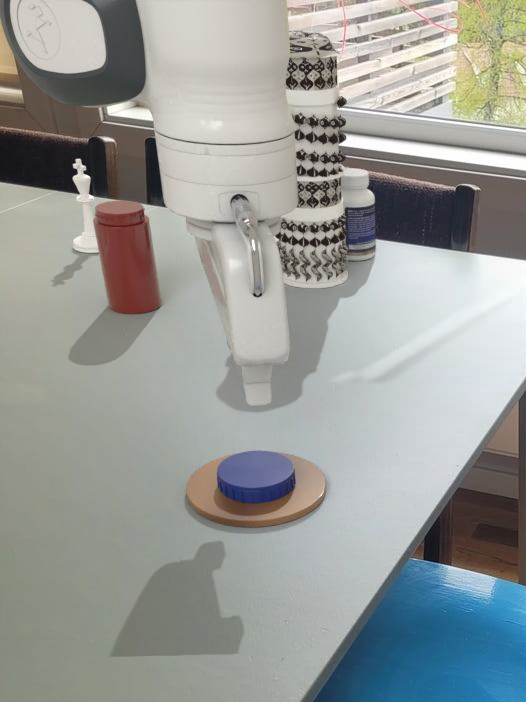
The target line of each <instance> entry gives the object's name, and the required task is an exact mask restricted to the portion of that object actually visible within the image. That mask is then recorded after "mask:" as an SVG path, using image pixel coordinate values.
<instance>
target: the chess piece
mask: <svg viewBox="0 0 526 702" xmlns="http://www.w3.org/2000/svg"><path fill="white" fill-rule="evenodd" d="M72 168H73V169H75V170H77V174H75V175H73V176H72V181H73V183H74V185H75V186H76V189H77V191H78V192H79V195H77V196H76V198H75V201H76V202H78V203H81V205H82V206H81V207H82V217H83V220H82V221H83V231H82V232H81V235H79V236H77V237H74V239H73V240H72V244H73V245H72V248H73V249H74V250H75V251H76V252H80V253H86V254H99V251H98V246H97V240H96V235H95V229H94V224H93V219H94V218H95V213H94V211H93V208H92V204H91V202H94V201H95V200H96V199H95V196H94V195H91V194H90V186H91V180H92V179H91V176H89V175H88V174H85V173H84V172H85V171H87V166H86V165H83V163H82V159H81V158H76V159H75V163H72Z"/></svg>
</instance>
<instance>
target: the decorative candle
mask: <svg viewBox="0 0 526 702" xmlns="http://www.w3.org/2000/svg"><path fill="white" fill-rule="evenodd" d="M289 40H290V58H289V63H288V68H287V74H286V95H287V101H288V104H289V107H290V111H291V114H292V117H293V121H294V130H295V147H296V165H297V184H298V206H297V207H296V208H295V209H294V210H293V211H292V212H290V213H288V214H286V215H283V216H281V227H282V228H281V231H280V232H279V233H278V234H277V235H275V236H274V238H276V239H277V241H276V243H277V246H278V249H279V253H280V259H281V265H282V271H283V278H284V285H287V286H290V287H294V288H300V289H301V288H302V289H326V288H327V289H328V288H332V287H333V288H334V287H336V286H339V285H342V284H344V283H345V282H346V281H347V280H348V279H349V273H348V270H347V269H348V265H349V260H347V258H346V255H347V253H346V252H347V251H348V247H347V246H346V243H345V242H344V241H343V240H344V239H345V238H346V235H347V231H346V230H345V228H344V227H343V226H344V225H345V222H346V221H347V218H346V216H345V214H344V213H343V198H342V197H341V176H342V175H344V169H345V166H344V165H343V164H341V163H343V162H345V160H346V159H347V156H346V153H343V152H342V151H341V150H340V148H339V147H340V144H342V143H343V142H345V141H347V135H346V134H345V133H343V132H342V131H341V129H342V128H343V127H345V126H346V124H347V119H346V118H345V117H343V116H342V115H341V114H339V115H338V109H339V110H340V109H342V108H343V107H344V106H346V105H347V103H348V101H347V99H346V98H345V97H344V96H343V95H341V96H340V83H339V82H338V57H337V56H339V55H340V54H341V51H339V50H338V49H335V47H334V45H333V44H332V42H331V40H330V38H329V37H328V36H327V35H326V34H323V33H322V32H321V33H320V32H317V31H307V30H289ZM339 130H340V131H339Z"/></svg>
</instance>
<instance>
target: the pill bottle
mask: <svg viewBox="0 0 526 702" xmlns="http://www.w3.org/2000/svg"><path fill="white" fill-rule="evenodd" d="M369 175H370V173H369V171H367V170H366V169H362V168H355V167H354V168H353V167H349V168H348V167H347V168H344V175H342V176H341V197H342V198H343V213H344V214H345V216H346V218H347V221H346V222H345V225H344V226H343V227H344V228H345V230H346V231H347V235H346V238H345V239H344V240H343V241H344V242H345V243H346V246H347V247H348V251H347V252H346V253H347V255H346V258H347V260H348V261H354V262H355V261H356V262H359V261H366V260H369V259H372V258H373V257H375V255H376V252H377V251H376V250H377V245H376V244H377V242H376V241H377V240H376V197H375V193H374V192H373V191H371V190H370V189H368V187H369V186H370V176H369Z"/></svg>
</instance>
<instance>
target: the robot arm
mask: <svg viewBox="0 0 526 702" xmlns="http://www.w3.org/2000/svg"><path fill="white" fill-rule="evenodd" d="M287 1H288V0H0V23H1V27H2V30H3V31H2V32H3V34H4V36H5V39H6V42H7V44H8V46H9V48H10V51H11V53H12V55H13V56H14V58H15V60H16V61H17V63H18V65H19V66H20V68H21V69H22V70H23V72H24V73H25V74H26V76H27V77H28V78H29V79H30V80H31V81H32V82H33V83H34V84H35V85H36V86H37V87H38V88H39V89H40V90H41V91H42V92H43V93H45V94H46V95H48V96H49V97H50V98H52V99H53V100H55V101H57V102H59V103H61V104H64V105H67V106H70V107H80V108H81V107H82V108H89V109H99V108H108V107H110V106H112V107H113V106H116V105H120V104H125V103H128V102H132V103H139V104H142V105H144V106H145V107H146V108H147V109H148V110H149V112H150V114H151V118H152V121H153V122H152V123H153V130H154V131H153V132H154V138H155V145H156V146H155V147H156V153H157V160H158V167H159V175H160V183H161V190H162V197H163V203H164V205H165V207H166V208H167V209H168V210H169V211H171V212H172V213H174V214H176V215H178V216H181V217H184V218H185V223H186V230H187V232H188V233H189V234H190V235H192V236H193V237H194V240H195V244H196V248H197V251H198V255H199V259H200V263H201V265H202V268H203V271H204V273H205V276H206V280H207V283H208V285H209V288H210V291H211V294H212V298H213V301H214V304H215V306H216V310H217V312H218V315H219V318H220V321H221V324H222V327H223V330H224V332H225V333H224V334H225V340H226V344H227V346H228V349H229V350H230V351H231V354H232V358H233V360H234V363H235V364H236V365H237V366H239V367H241V373H242V374H241V377H242V379H241V380H242V386H243V387H242V388H243V394H244V398H245V401H246V403H247V405H249V406H251V407H257V406H258V407H259V406H260V407H261V406H267V405H270V404H271V402H272V400H273V394H272V393H273V392H272V378H273V377H272V375H273V369H274V366H277V365H282V364H285V363H287V362H288V360H289V356H290V350H291V349H290V348H291V346H290V345H291V342H290V341H291V340H290V331H289V330H290V329H289V320H288V308H287V307H288V306H287V298H286V289H285V283H284V278H283V271H282V265H281V259H280V253H279V249H278V246H277V241H276V240H275V235H277V234H278V233H279V232H280V231H281V228H282V227H281V216H283V215H286V214H288V213H290V212H292V211H293V210H294V209H295V208H296V207H297V206H298V184H297V165H296V147H295V130H294V121H293V117H292V114H291V111H290V107H289V104H288V101H287V95H286V74H287V68H288V63H289V58H290V40H289V31H290V27H289V12H288V3H287Z"/></svg>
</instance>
